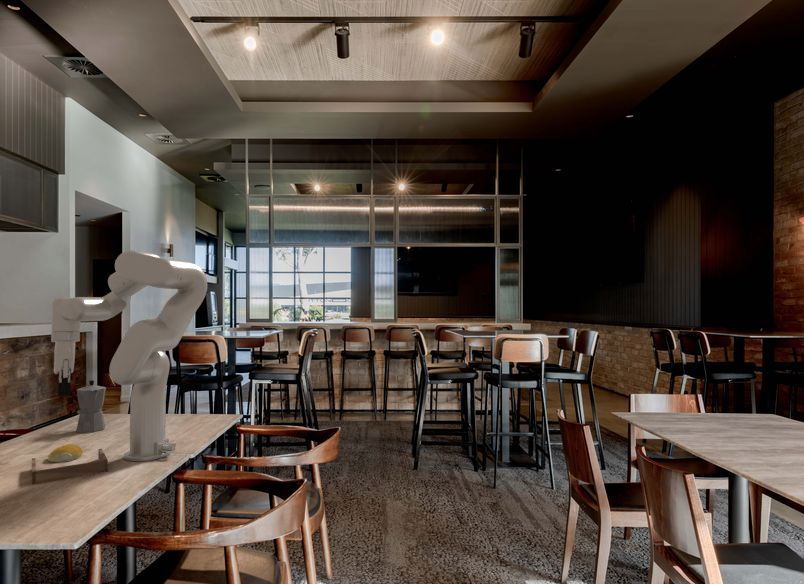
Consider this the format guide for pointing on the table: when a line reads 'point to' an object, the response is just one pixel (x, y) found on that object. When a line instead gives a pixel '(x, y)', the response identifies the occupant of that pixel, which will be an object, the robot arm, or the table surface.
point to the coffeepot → (91, 408)
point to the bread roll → (65, 453)
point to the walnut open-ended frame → (70, 470)
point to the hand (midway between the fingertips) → (64, 395)
